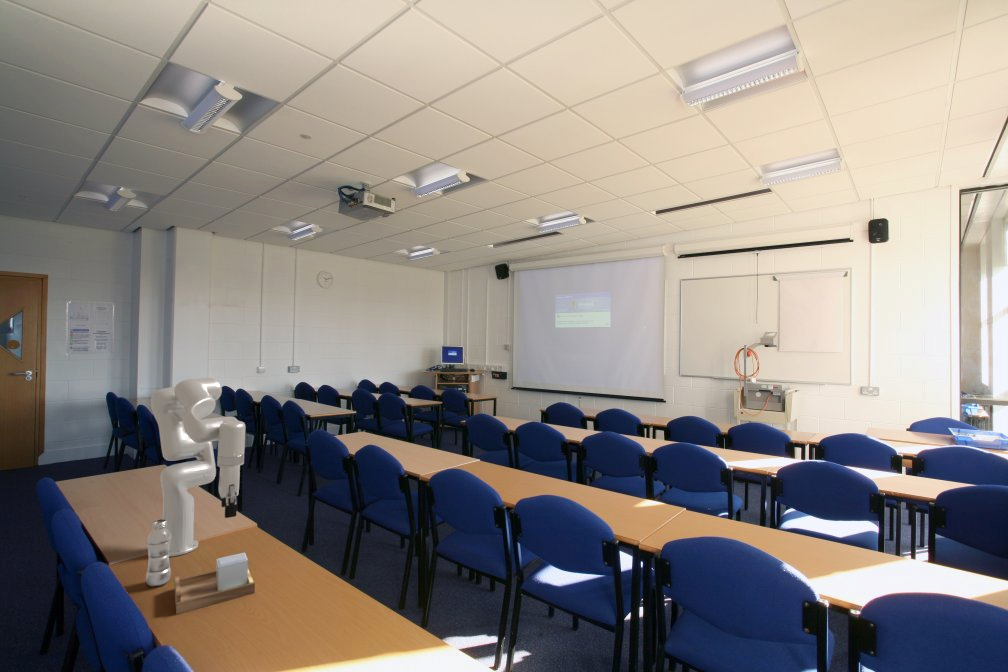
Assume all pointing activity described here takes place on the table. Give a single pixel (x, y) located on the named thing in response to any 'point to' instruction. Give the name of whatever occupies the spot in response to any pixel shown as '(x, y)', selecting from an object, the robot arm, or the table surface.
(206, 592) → the bay
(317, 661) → the table surface
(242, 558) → the grey block
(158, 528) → the plastic bottle
